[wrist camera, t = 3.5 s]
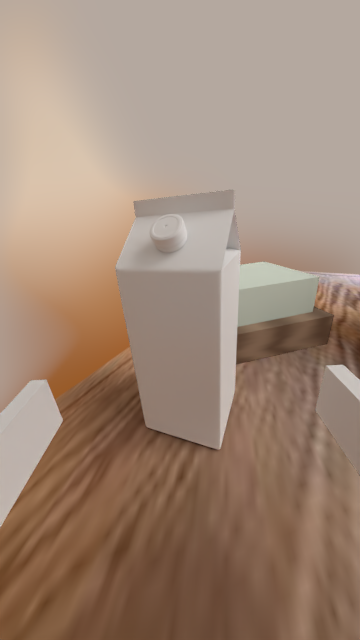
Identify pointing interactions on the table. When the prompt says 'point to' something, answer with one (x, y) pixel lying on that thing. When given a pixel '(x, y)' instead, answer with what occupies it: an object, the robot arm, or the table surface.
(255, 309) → the tower top
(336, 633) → the table surface
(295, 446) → the table surface
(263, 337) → the tower base
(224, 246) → the milk carton
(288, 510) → the table surface
